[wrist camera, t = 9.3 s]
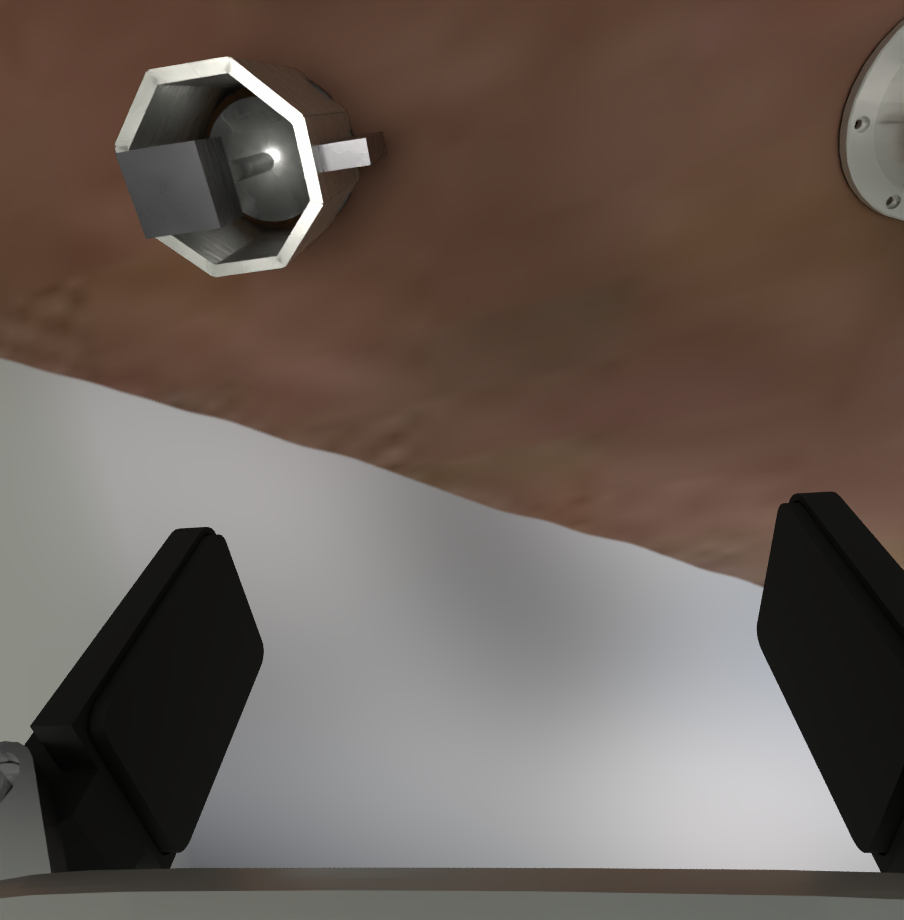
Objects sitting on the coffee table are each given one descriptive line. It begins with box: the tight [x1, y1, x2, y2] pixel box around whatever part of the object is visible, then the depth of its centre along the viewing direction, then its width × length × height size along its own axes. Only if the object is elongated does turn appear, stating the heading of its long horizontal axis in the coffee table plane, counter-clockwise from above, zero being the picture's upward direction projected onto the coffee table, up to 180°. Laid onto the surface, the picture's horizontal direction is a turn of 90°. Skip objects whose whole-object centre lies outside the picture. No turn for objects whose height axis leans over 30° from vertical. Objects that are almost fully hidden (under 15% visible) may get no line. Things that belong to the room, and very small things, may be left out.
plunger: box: [115, 97, 310, 239], centre depth 31 cm, size 7×7×14 cm
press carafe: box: [115, 56, 386, 277], centre depth 35 cm, size 12×9×12 cm
